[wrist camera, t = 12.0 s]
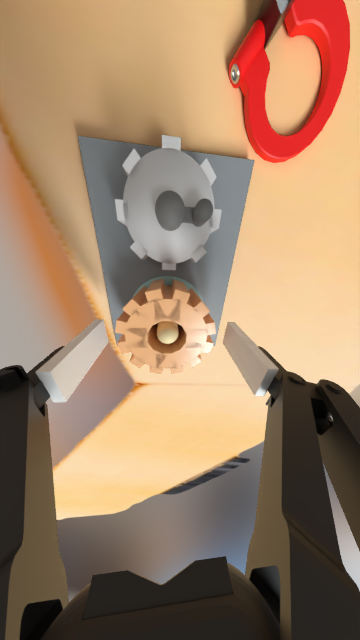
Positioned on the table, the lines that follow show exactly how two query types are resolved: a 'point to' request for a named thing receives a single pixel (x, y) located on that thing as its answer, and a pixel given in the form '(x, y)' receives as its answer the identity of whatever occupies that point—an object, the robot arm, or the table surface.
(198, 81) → the table surface
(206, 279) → the gear board
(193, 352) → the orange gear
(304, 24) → the tow hook
